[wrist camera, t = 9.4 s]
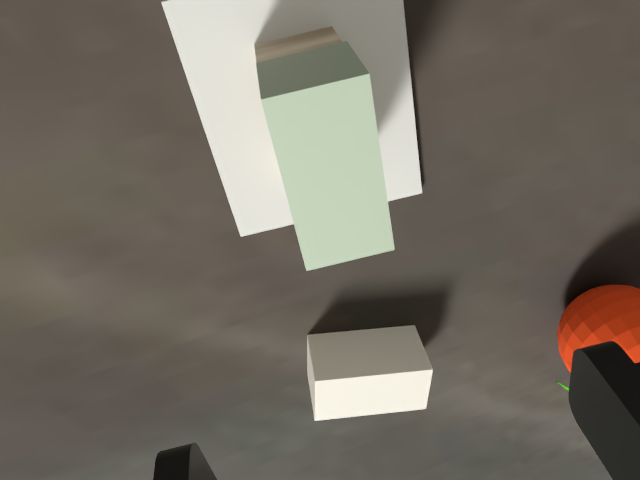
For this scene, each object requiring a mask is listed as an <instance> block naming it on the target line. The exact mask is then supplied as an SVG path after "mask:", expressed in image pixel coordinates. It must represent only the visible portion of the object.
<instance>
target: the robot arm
mask: <svg viewBox="0 0 640 480" xmlns="http://www.w3.org/2000/svg"><path fill="white" fill-rule="evenodd" d="M569 403H570V407H571V410H572V413H573V415H574V418H575V420H576V422H577V424H578V425H579V427H580V428H581V430H582V432H583V433H584V435H585V436H586V438H587V439H588V441H589V443H590V444H591V446H592V447H593V449H594V450H595V452H596V454H597V455H598V457H599V458H600V460H601V461H602V463H603V465H604V466H605V468H606V469H607V471H608V472H609V474H610V476H611V477H612V479H613V480H640V362H638V363H634V362H633V361H632V359H631V358H630V357H629V356H628V355H627V353H626V352H625V351H624V350H623V349H622V348H621V346H620V345H618V344H617V343H616V342H614V341H608V342H604V343H600V344H596V345H592V346H588V347H584V348H579V349H576V350H575V351H574V352H573V358H572V367H571V376H570V386H569ZM153 480H217V479H216V477H215V475H214V474H213V472H212V470H211V468H210V466H209V464H208V463H207V461H206V459H205V457H204V455H203V453H202V452H201V450H200V448H199V446H198V445H197V444H196V443H192V444H188V445H184V446H180V447H176V448H172V449H168V450H164V451H160V452H159V453H158V455H157V457H156V462H155V470H154V478H153Z"/></svg>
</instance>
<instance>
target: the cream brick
mask: <svg viewBox="0 0 640 480" xmlns="http://www.w3.org/2000/svg"><path fill="white" fill-rule="evenodd" d="M432 372H433V369H432V366H431V364H430V361H429V359H428V356H427V354H426V352H425V349H424V347H423V344H422V342H421V339H420V337H419V334H418V332H417V330H416V327H415V325H411V326H399V327H388V328H377V329H366V330H355V331H344V332H333V333H321V334H310V335H307V374H308V381H309V387H310V393H311V400H312V406H313V413H314V419H315V421H318V420H327V419H336V418H346V417H355V416H364V415H373V414H383V413H392V412H401V411H410V410H420V409H426V406H427V400H428V394H429V389H430V383H431V377H432Z"/></svg>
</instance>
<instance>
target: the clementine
mask: <svg viewBox="0 0 640 480" xmlns="http://www.w3.org/2000/svg"><path fill="white" fill-rule="evenodd" d="M557 336H558V345H559V353H560V355H561V357H562V359H563V361H564V363H565V365H566V367H567V368H568V370H569V371H570V372H571V367H572V358H573V352H574V351H575V350H576V349H579V348H584V347H588V346H592V345H596V344H600V343H604V342H608V341H614V342H616V343H617V344H618V345H620V346H621V348H622V349H623V350H624V351H625V352H626V353H627V355H628V356H629V357H630V358H631V359H632V361H633V362H634V363H638V362H640V289H639V288H636V287H633V286H629V285H603V286H599V287H596V288H593V289H590V290H588V291H586V292H584V293H583V294H581V295H579V296H578V297H577V298H576V299H574V300H573V301H572V302H571V303H570V304H569V305H568V307H567V308H566V309H565V311H564V313H563V314H562V317H561V320H560V323H559V327H558V331H557ZM556 382H557V381H556ZM557 383H559V382H557ZM559 384H560V385H562V386H563V387H564V388H566V389H567V390H569V388H568V387H566V386H565V385H563V384H561V383H559Z"/></svg>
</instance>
